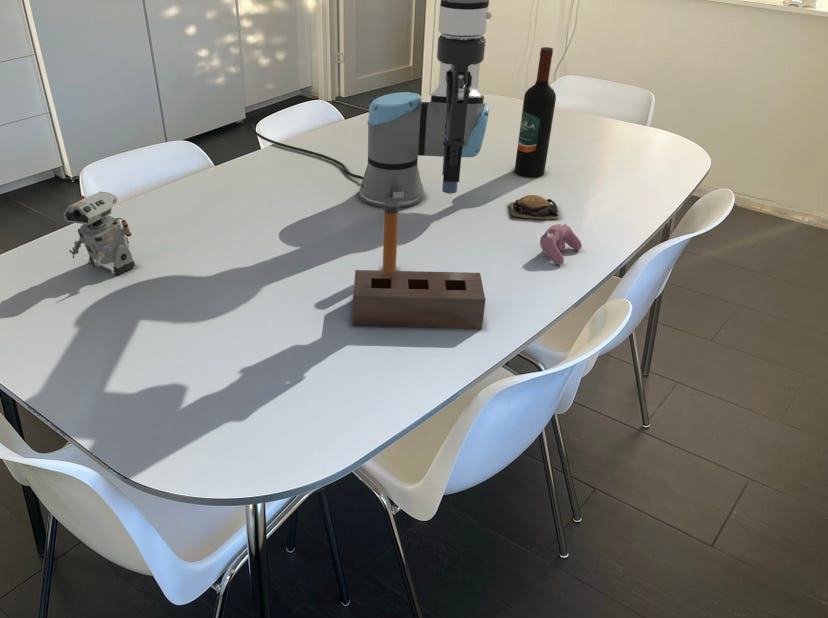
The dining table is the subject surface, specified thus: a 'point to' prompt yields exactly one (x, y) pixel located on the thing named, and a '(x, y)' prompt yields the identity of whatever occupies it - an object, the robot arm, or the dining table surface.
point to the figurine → (101, 231)
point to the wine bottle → (536, 122)
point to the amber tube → (390, 235)
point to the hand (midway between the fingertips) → (450, 177)
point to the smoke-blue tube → (447, 186)
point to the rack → (418, 299)
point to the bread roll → (534, 208)
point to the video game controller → (558, 242)
